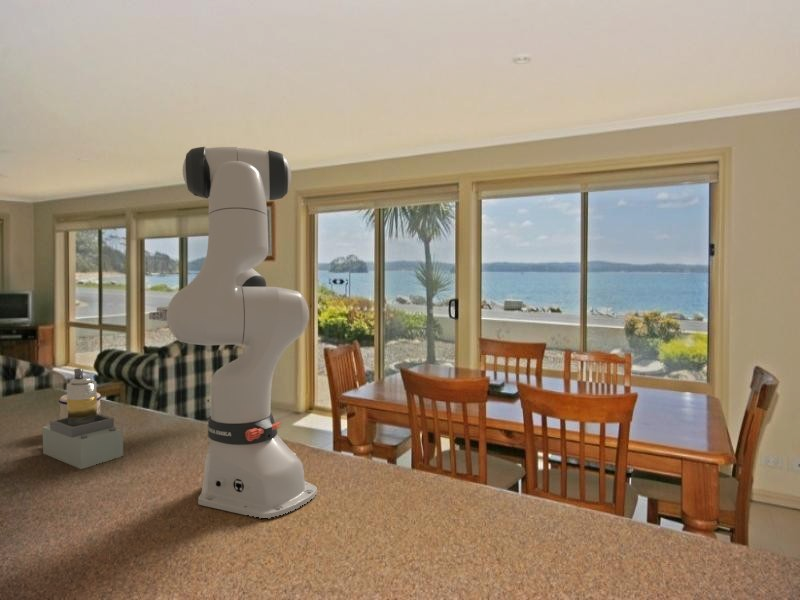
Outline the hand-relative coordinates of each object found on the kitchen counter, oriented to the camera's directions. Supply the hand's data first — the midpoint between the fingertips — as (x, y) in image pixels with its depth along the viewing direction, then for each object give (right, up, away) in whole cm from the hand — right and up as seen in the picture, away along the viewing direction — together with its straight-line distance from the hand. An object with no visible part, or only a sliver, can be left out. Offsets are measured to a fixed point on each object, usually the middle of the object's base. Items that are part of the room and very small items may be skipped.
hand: (162, 317), depth 128 cm
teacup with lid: (-24, -29, +7) cm, 38 cm away
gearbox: (-15, -30, -9) cm, 35 cm away
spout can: (-13, -24, -11) cm, 29 cm away
